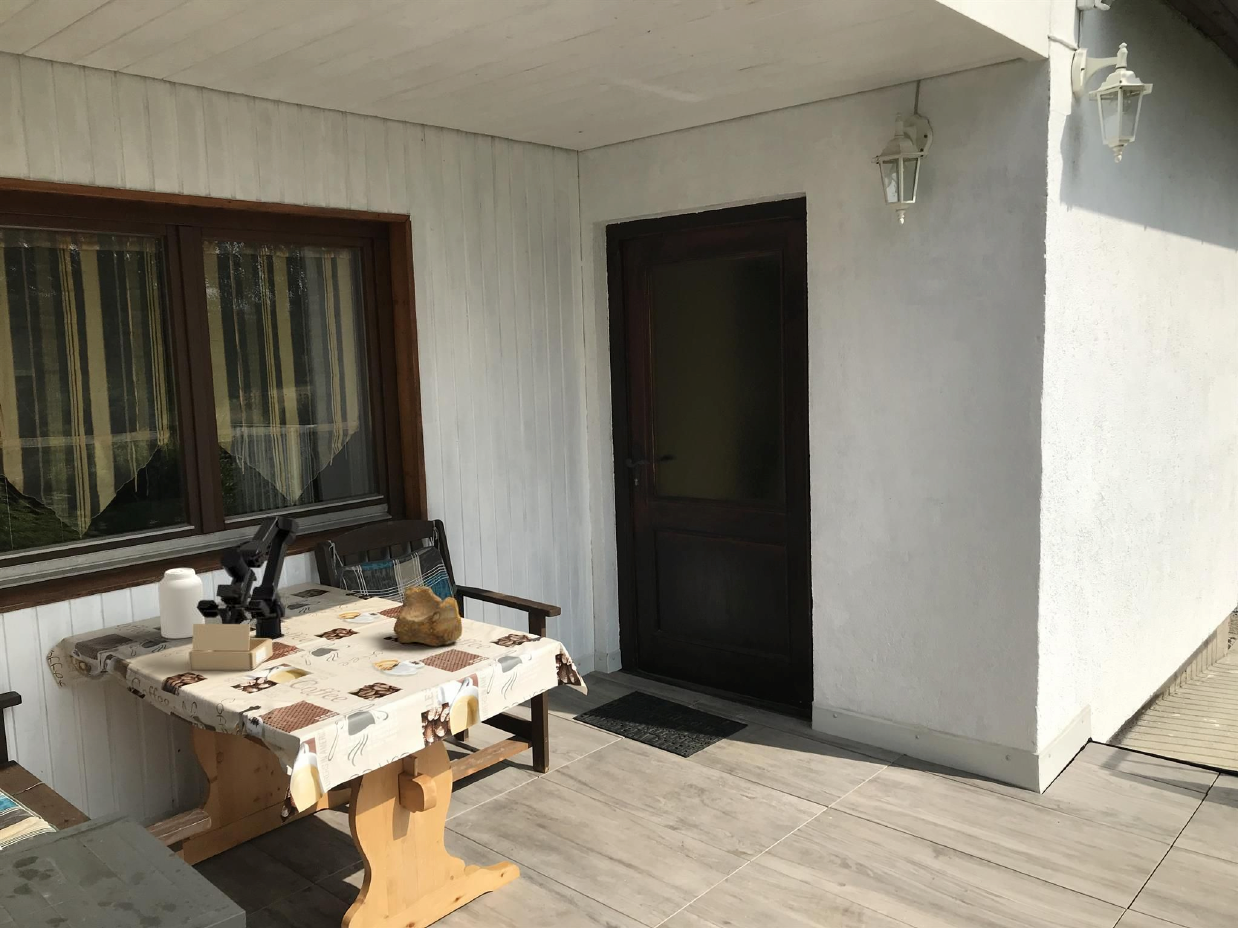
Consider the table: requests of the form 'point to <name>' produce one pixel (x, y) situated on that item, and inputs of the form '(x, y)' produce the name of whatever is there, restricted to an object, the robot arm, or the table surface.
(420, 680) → the table surface
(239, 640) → the flap
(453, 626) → the rough brown rock
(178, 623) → the white jar
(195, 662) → the carton
